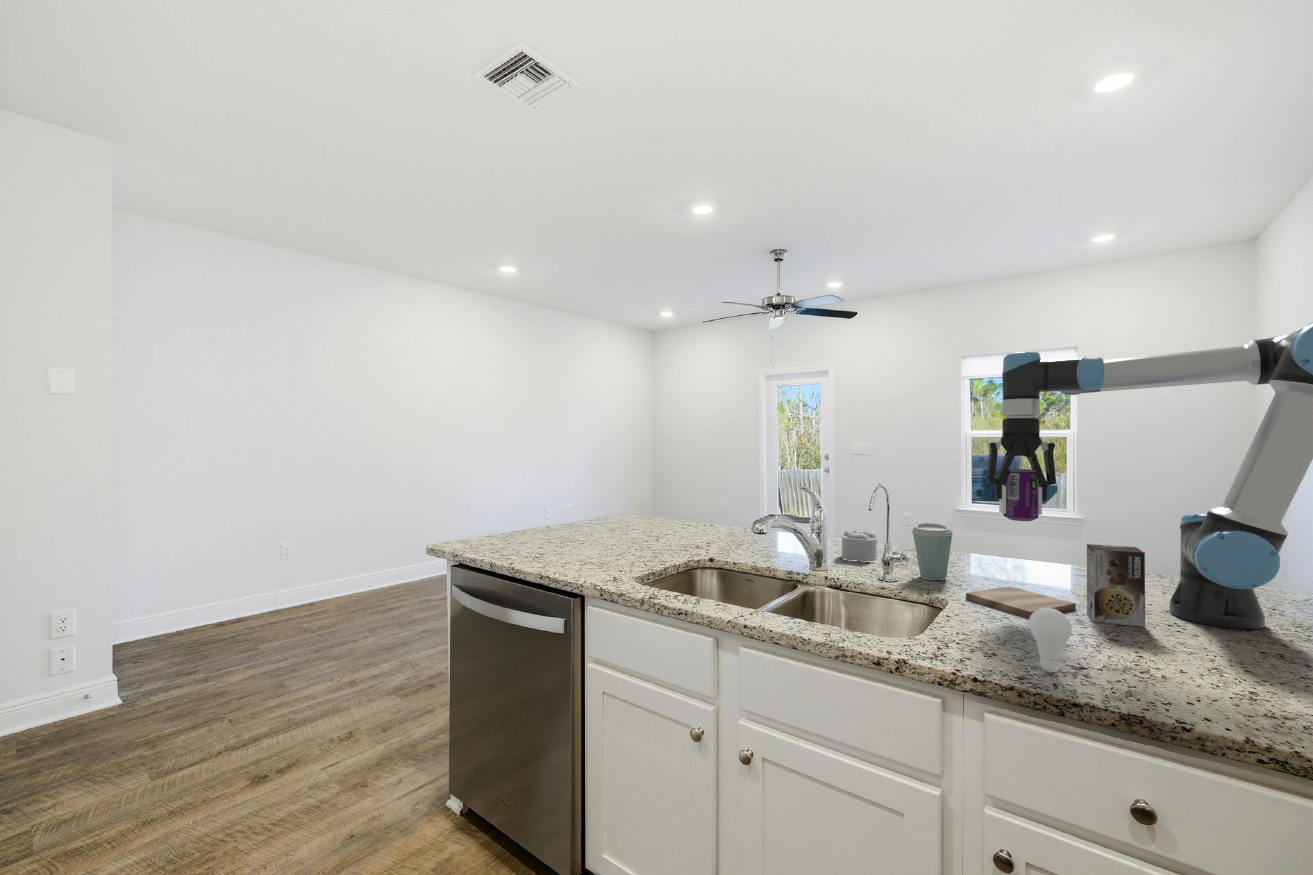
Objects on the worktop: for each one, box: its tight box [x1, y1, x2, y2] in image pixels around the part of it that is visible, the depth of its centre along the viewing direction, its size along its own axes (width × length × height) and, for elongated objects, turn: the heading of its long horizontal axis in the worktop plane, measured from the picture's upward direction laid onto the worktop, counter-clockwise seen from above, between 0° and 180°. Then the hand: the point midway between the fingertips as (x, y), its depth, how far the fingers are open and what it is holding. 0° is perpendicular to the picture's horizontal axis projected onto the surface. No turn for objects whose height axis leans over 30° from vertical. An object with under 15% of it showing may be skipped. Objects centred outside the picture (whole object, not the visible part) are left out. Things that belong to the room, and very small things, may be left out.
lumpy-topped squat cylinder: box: [841, 529, 878, 561], centre depth 187 cm, size 10×13×9 cm
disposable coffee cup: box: [911, 522, 954, 581], centre depth 161 cm, size 11×11×15 cm
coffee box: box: [1086, 543, 1146, 628], centre depth 125 cm, size 9×6×16 cm
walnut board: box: [965, 585, 1077, 619], centre depth 137 cm, size 16×16×2 cm
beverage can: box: [1002, 468, 1039, 522], centre depth 137 cm, size 7×7×12 cm
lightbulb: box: [1028, 608, 1073, 674], centre depth 98 cm, size 6×6×11 cm
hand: (1020, 513), depth 137 cm, fingers closed on beverage can, 7 cm apart
